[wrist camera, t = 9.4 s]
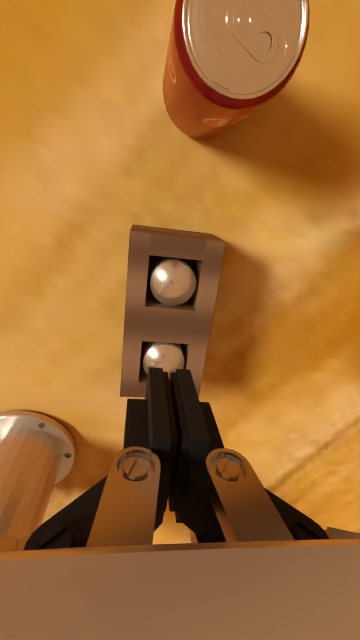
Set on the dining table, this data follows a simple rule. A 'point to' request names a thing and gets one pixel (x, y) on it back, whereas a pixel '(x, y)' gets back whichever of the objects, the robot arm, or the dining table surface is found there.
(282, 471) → the dining table surface
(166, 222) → the dining table surface
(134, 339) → the walnut block
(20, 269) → the dining table surface
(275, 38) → the soda can
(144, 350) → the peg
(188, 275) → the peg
